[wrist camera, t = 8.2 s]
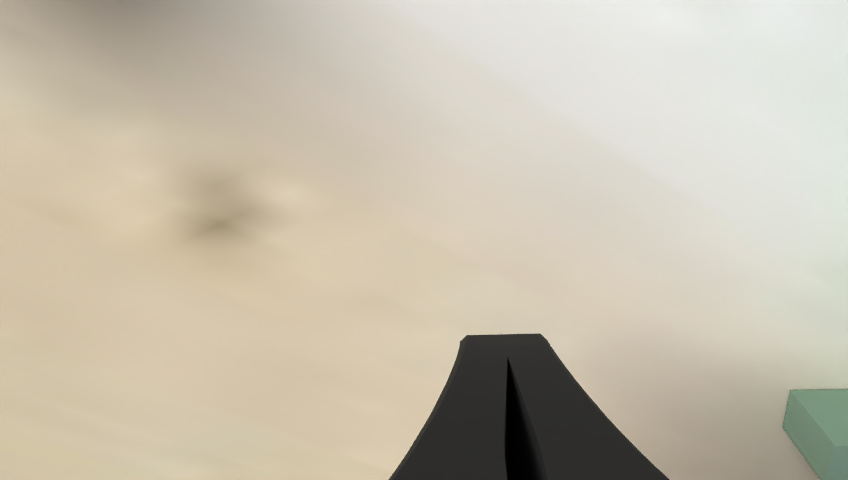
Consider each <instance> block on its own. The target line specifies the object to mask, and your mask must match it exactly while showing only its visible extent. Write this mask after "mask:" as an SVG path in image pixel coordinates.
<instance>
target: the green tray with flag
mask: <svg viewBox="0 0 848 480" xmlns="http://www.w3.org/2000/svg"><path fill="white" fill-rule="evenodd" d="M783 429H784V430H785V431H786V433H787V434H788V435H789V437H790V438H791V440H792V441H793V442H794V444H795V445H796V447H797V448H798V449H799V451H800V452H801V453H802V455H803V456H804V458H805V459H806V460H807V462H808V463H809V465H810V466H811V467H812V469H813V470H814V472H815V473H816V474H817V476H818V477H819V478H820V480H848V389H829V390H790V395H789V400H788V404H787V409H786V414H785V418H784V423H783Z"/></svg>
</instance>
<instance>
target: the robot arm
mask: <svg viewBox="0 0 848 480" xmlns="http://www.w3.org/2000/svg"><path fill="white" fill-rule="evenodd" d="M389 480H669V479H668V478H667V477H666V476H665V475H664V474H663V473H662V472H661V471H660V470H658V469H657V468H656V467H655V466H654V465H653V464H652V463H651V462H650V461H649V460H648V459H647V458H646V457H645V456H644V455H643V454H642V453H641V452H640V451H639V450H638V449H637V448H636V447H635V446H634V445H633V444H632V443H631V442H630V441H629V440H628V439H627V438H626V437H625V436H624V435H623V434H622V433H621V432H620V431H619V430H618V429H617V428H616V426H615V425H614V424H613V423H612V422H611V421H610V420H609V419H608V418H607V417H606V416H605V414H604V413H603V412H602V411H601V410H600V409H599V407H598V406H597V405H596V404H595V403H594V402H593V400H592V399H591V398H590V397H589V396H588V395H587V393H586V392H585V391H584V390H583V389H582V387H581V386H580V385H579V384H578V382H577V381H576V380H575V379H574V377H573V376H572V375H571V373H570V372H569V371H568V370H567V368H566V367H565V366H564V364H563V363H562V361H561V360H560V359H559V357H558V356H557V355H556V353H555V352H554V350H553V349H552V347H551V346H550V344H549V343H548V341H547V340H546V339H545V338H544V337H543V336H542V335H541V334H505V335H467V336H466V337H465V338H464V339H462V340H461V341H460V347H459V351H458V355H457V358H456V361H455V363H454V366H453V369H452V371H451V373H450V376H449V378H448V381H447V383H446V385H445V387H444V389H443V391H442V393H441V395H440V397H439V399H438V401H437V403H436V405H435V407H434V409H433V411H432V413H431V415H430V416H429V418H428V420H427V421H426V423H425V425H424V426H423V428H422V430H421V431H420V433H419V435H418V436H417V438H416V440H415V441H414V443H413V445H412V446H411V448H410V450H409V451H408V453H407V454H406V456H405V457H404V459H403V460H402V462H401V463H400V465H399V466H398V467H397V469H396V470H395V472H394V473H393V474H392V476H391V477H390V479H389Z"/></svg>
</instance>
